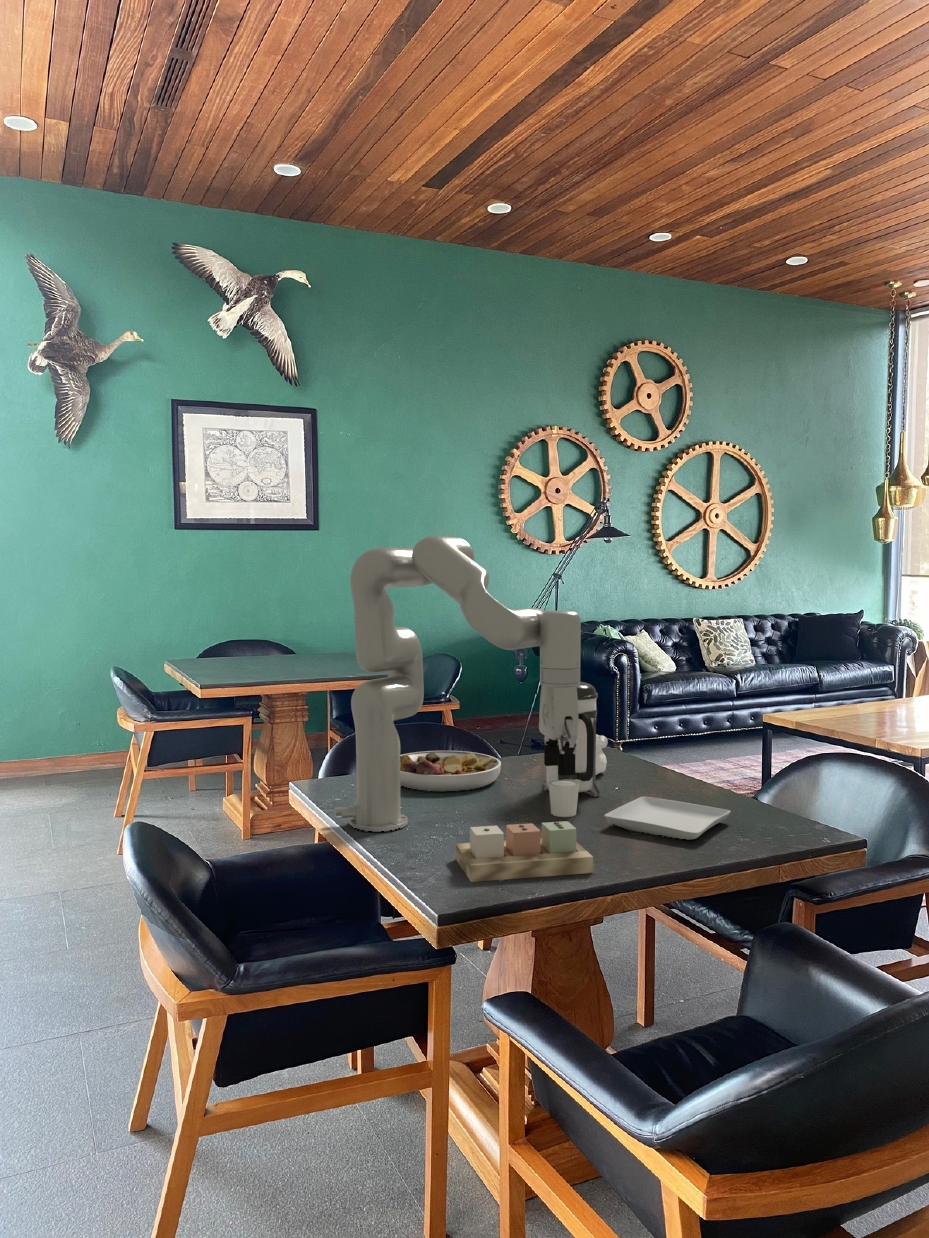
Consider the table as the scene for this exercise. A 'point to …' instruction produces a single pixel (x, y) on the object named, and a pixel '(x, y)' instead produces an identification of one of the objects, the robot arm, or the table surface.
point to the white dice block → (486, 842)
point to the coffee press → (582, 743)
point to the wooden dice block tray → (523, 864)
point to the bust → (600, 754)
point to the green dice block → (558, 837)
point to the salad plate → (666, 817)
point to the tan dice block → (523, 839)
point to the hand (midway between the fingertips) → (559, 769)
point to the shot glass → (563, 797)
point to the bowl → (447, 770)
